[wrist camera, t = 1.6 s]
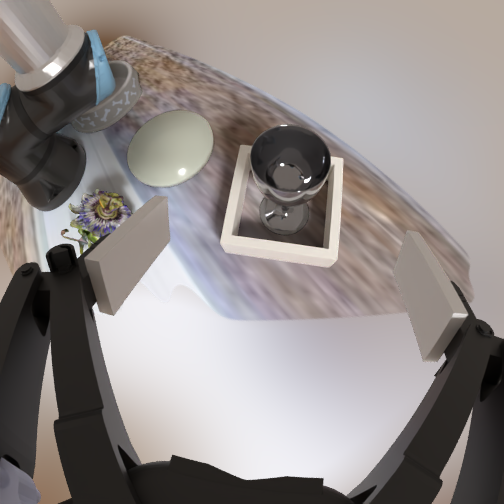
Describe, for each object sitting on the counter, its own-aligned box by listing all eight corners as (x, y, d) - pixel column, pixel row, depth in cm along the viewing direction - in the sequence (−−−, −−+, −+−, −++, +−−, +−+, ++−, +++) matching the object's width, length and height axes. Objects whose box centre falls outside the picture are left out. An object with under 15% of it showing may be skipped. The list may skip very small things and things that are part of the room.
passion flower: (143, 230, 48) (156, 229, 38) (99, 274, 45) (99, 286, 34) (103, 181, 44) (103, 166, 34) (57, 225, 41) (44, 222, 30)
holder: (225, 252, 41) (219, 243, 36) (243, 162, 44) (240, 144, 39) (329, 267, 39) (337, 260, 35) (336, 175, 43) (343, 158, 38)
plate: (118, 185, 45) (115, 182, 43) (145, 115, 48) (143, 111, 47) (202, 191, 43) (200, 188, 42) (222, 115, 47) (221, 111, 45)
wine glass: (315, 192, 42) (334, 132, 28) (307, 243, 40) (326, 199, 26) (262, 182, 43) (259, 118, 28) (251, 231, 41) (241, 183, 27)
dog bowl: (137, 62, 53) (130, 46, 48) (147, 109, 49) (138, 92, 44) (75, 94, 53) (65, 80, 47) (73, 147, 48) (60, 133, 43)
